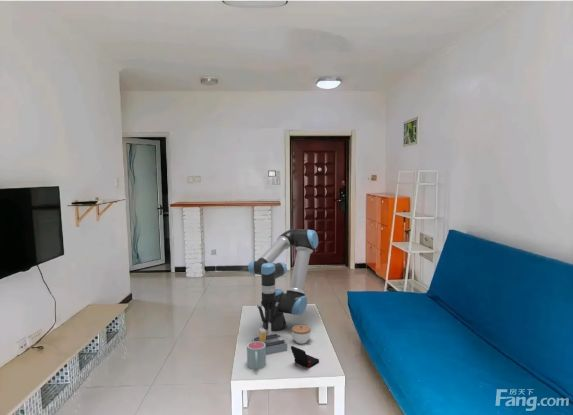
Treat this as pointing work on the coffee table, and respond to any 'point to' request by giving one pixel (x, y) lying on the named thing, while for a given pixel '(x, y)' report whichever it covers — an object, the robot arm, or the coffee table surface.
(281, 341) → the switch panel
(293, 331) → the lidded jar
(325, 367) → the coffee table surface
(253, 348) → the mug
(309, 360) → the handheld gaming console
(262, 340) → the handle
